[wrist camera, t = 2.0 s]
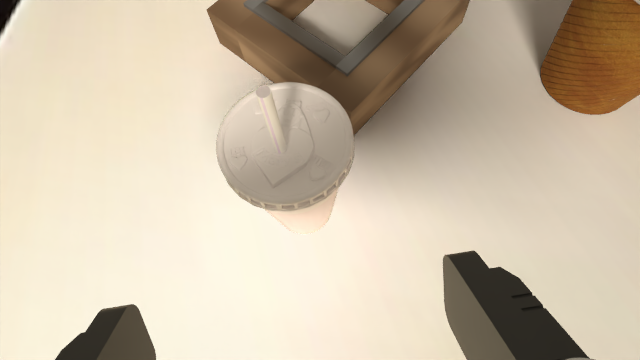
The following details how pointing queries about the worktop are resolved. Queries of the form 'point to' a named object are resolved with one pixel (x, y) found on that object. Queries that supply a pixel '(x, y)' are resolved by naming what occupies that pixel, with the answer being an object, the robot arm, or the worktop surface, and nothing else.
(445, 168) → the worktop surface
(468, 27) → the worktop surface
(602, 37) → the disposable coffee cup
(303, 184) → the smoothie
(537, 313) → the robot arm
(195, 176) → the worktop surface
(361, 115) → the socket block
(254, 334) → the worktop surface
